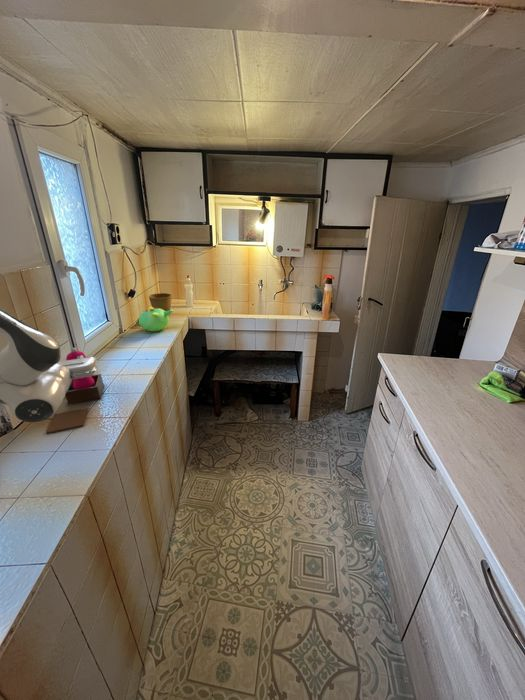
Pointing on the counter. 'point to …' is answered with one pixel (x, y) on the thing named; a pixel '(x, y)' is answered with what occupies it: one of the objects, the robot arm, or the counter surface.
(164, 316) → the toy bird
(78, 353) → the pepper mill
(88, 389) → the mill holder
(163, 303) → the plant pot
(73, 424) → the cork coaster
